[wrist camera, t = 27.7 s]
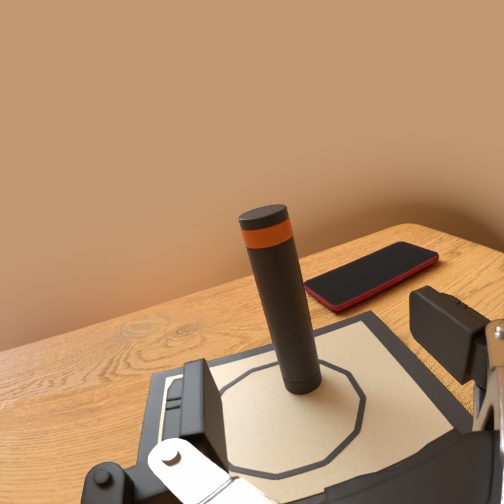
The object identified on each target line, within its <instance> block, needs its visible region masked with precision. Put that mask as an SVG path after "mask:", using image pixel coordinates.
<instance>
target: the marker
mask: <svg viewBox="0 0 504 504" xmlns="http://www.w3.org/2000/svg"><path fill="white" fill-rule="evenodd" d="M288 216H289V215H288V211H287V207H286V206H285V205H280V204H279V205H269V206H264V207H260V208H256V209H254V210H250V211H248V212H245V213H243V214H242V215H240V216H239V223H240V226H241V231H242V235H243V239H244V242H245V245H246V248H247V252H248V255H249V259H250V262H251V266H252V270H253V274H254V277H255V281H256V285H257V288H258V292H259V295H260V299H261V303H262V306H263V310H264V313H265V317H266V321H267V324H268V328H269V331H270V335H271V339H272V342H273V346H274V349H275V353H276V357H277V360H278V364H279V367H280V371H281V375H282V378H283V382H284V385H285V388H286V390H287V391H288V392H290V393H292V394H296V395H303V394H308V393H310V392H312V391H314V390H316V389H317V388H318V387H319V386H320V384H321V381H322V377H321V371H320V365H319V360H318V354H317V349H316V344H315V338H314V333H313V328H312V323H311V318H310V313H309V308H308V303H307V298H306V293H305V288H304V283H303V279H302V274H301V269H300V265H299V260H298V255H297V251H296V246H295V242H294V237H293V231H292V227H291V223H290V218H289V217H288Z"/></svg>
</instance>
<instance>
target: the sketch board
mask: <svg viewBox="0 0 504 504" xmlns="http://www.w3.org/2000/svg"><path fill="white" fill-rule="evenodd" d="M313 333H314V338H315V344H316V349H317V354H318V360H319V365H320V371H321V377H322V381H321V384H320V386H319V387H318V388H317V389H316V390H314V391H312V392H310V393H308V394H303V395H296V394H292V393H290V392H288V391H287V390H286V388H285V385H284V382H283V378H282V375H281V371H280V367H279V364H278V360H277V357H276V353H275V349H274V346H273V343H272V344H269V345H265V346H262V347H258V348H255V349H251V350H248V351H244V352H241V353H237V354H233V355H230V356H226V357H222V358H218V359H214V360H210V361H206V362H207V364H208V367H209V369H210V371H211V374H212V376H213V378H214V381H215V383H216V385H217V387H218V390H219V393H220V396H221V400H222V406H223V417H224V427H225V438H226V448H227V457H228V466H229V475H230V476H232V477H234V476H239V477H241V478H243V479H244V480H246V481H247V482H249V483H250V484H251V485H253V486H254V487H256V488H257V489H259V490H260V491H262V492H264V493H265V494H267V495H268V496H270V497H271V498H273V499H275V500H276V501H278V502H279V503H281V504H315V503H316V502H318V501H319V500H321V499H322V498H324V497H325V493H324V488H325V487H328V486H331V485H334V484H337V483H340V482H343V481H346V480H348V479H351V478H354V477H356V476H359V475H363V474H368V473H373V472H378V471H383V470H387V469H392V468H396V467H399V466H401V465H402V464H403V463H405V462H406V461H407V460H408V459H410V458H411V457H412V456H413V455H414V454H416V453H417V452H418V451H419V450H420V449H422V448H423V447H424V446H425V445H426V444H427V443H429V442H431V441H433V440H434V439H436V438H438V437H440V436H441V435H443V434H445V433H446V432H448V431H450V430H451V429H453V428H455V427H456V428H457V429H458V430H459V432H460V433H461V434H463V433H467V432H472V429H473V417H472V415H471V414H470V413H469V412H468V411H467V410H466V409H465V408H464V407H463V405H462V404H461V403H460V402H459V401H458V400H457V399H456V398H455V397H454V396H453V395H452V394H451V392H450V391H449V390H448V389H447V388H446V387H445V386H444V385H443V384H442V383H441V382H440V381H439V380H438V379H437V378H436V376H435V375H434V374H433V373H432V372H431V371H430V370H429V369H428V368H427V367H426V366H425V365H424V364H423V363H422V362H421V361H420V360H419V359H418V358H417V357H416V356H415V354H414V353H413V352H412V351H411V350H410V349H409V348H408V347H407V346H406V345H405V344H404V343H403V342H402V341H401V340H400V339H399V338H398V337H397V336H396V335H395V334H394V333H393V332H392V331H391V330H390V329H389V328H388V327H387V326H386V325H385V324H384V323H383V322H382V321H381V320H380V319H379V318H378V317H377V316H376V315H375V314H374V313H373V312H372V311H371V310H370V311H367V312H364V313H362V314H359V315H356V316H354V317H351V318H348V319H345V320H342V321H340V322H337V323H334V324H331V325H328V326H325V327H322V328H319V329H316V330H313ZM182 377H183V367H181V368H177V369H172V370H168V371H163V372H159V373H154V374H152V379H151V384H150V389H149V394H148V399H147V404H146V410H145V415H144V421H143V426H142V432H141V438H140V444H139V450H138V457H137V463H136V465H138V464H141V463H143V462H145V461H147V460H148V457H149V454H150V452H151V450H152V449H153V448H154V447H155V446H156V445H157V444H159V443H160V442H161V439H162V429H163V421H164V412H165V404H166V396H167V389H168V388H169V386H170V385H171V383H172V382H173V380H174V379H178V378H182Z"/></svg>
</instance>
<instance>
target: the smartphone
mask: <svg viewBox="0 0 504 504" xmlns="http://www.w3.org/2000/svg"><path fill="white" fill-rule="evenodd" d="M438 258H439V254H438V253H437V252H434V251H431V250H428V249H425V248H422V247H419V246H416V245H413V244H410V243H407V242H396V243H394V244H392V245H389V246H387V247H385V248H383V249H380V250H378V251H376V252H374V253H371V254H369V255H367V256H364V257H362V258H360V259H357V260H355V261H353V262H350V263H348V264H346V265H343V266H341V267H338V268H336V269H334V270H331V271H329V272H327V273H324V274H322V275H319V276H317V277H314V278H312V279H309V280H307V281H305V282H304V288H305V290H306V291H307V292H309V293H310V294H311V295H313V296H314V297H315V298H316V299H318V300H319V301H320V302H322V303H323V304H324V305H326V306H327V307H328V308H330V309H331V310H333V311H341V310H343V309H345V308H347V307H350V306H352V305H354V304H356V303H358V302H360V301H362V300H364V299H366V298H368V297H370V296H372V295H374V294H376V293H378V292H380V291H382V290H384V289H386V288H388V287H390V286H392V285H394V284H395V283H397V282H399V281H401V280H403V279H405V278H407V277H409V276H411V275H412V274H414V273H416V272H418V271H420V270H422V269H424V268H426V267H428V266H430V265H431V264H433V263H435V262H436V261H437V260H438Z"/></svg>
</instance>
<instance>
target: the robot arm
mask: <svg viewBox="0 0 504 504" xmlns="http://www.w3.org/2000/svg"><path fill="white" fill-rule="evenodd" d="M409 313H410V331H411V334H412V336H413V337H414V339H415V340H416V341H417V342H418V343H419V344H420V345H421V346H422V347H423V348H424V349H425V350H426V351H427V352H429V353H430V354H431V355H432V356H433V357H434V358H435V359H436V360H437V361H438V362H439V363H440V364H441V365H442V366H443V367H444V368H445V369H446V370H447V371H448V372H449V373H450V374H451V375H452V376H453V377H454V378H455V379H456V380H457V381H458V382H459V383H460V384H461V385H464V384H465V383H467V382H468V381H470V380H472V379H473V380H474V381H475V383H474V388H473V392H474V412H473V429H472V432H467V433H463V434H461V433H460V432H459V430H458V429H457V428H456V427H455V428H453V429H451V430H450V431H448V432H446V433H445V434H443V435H441V436H440V437H438V438H436V439H434V440H433V441H431V442H429V443H427V444H426V445H425V446H424V447H423V448H422V449H420V450H419V451H418V452H417V453H416V454H414V455H413V456H412V457H411V458H410V459H408V460H407V461H406V462H405V463H403V464H402V465H401V466H399V467H396V468H392V469H387V470H383V471H378V472H373V473H368V474H363V475H359V476H356V477H354V478H351V479H348V480H346V481H343V482H340V483H337V484H334V485H331V486H328V487H325V488H324V493H325V497H324V498H322V499H321V500H319V501H318V502H316V503H315V504H504V319H497V320H493V321H490V320H489V319H487V318H486V317H484V316H483V315H481V314H480V313H478V312H477V311H475V310H474V309H472V308H471V307H468V305H466V304H465V303H463V302H461V301H460V300H459V299H457V298H455V297H454V296H452V295H448V294H445V293H439V292H438V291H436V290H435V289H433V288H432V287H430V286H428V285H427V286H424V287H422V288H419V289H417V290H415V291H412V292H411V293H410V296H409ZM81 504H281V503H279V502H278V501H276V500H275V499H273V498H271V497H270V496H268V495H267V494H265V493H264V492H262V491H260V490H259V489H257V488H256V487H254V486H253V485H251V484H250V483H249V482H247V481H246V480H244V479H243V478H241V477H239V476H234V477H232V476H230V475H229V466H228V457H227V448H226V438H225V427H224V417H223V406H222V400H221V396H220V393H219V390H218V387H217V385H216V383H215V381H214V378H213V376H212V374H211V371H210V369H209V367H208V364H207V362H206V360H205V359H204V358H203V359H199V360H195V361H191V362H186V363H184V366H183V377H182V378H178V379H174V380H173V382H172V383H171V385H170V386H169V388H168V389H167V396H166V404H165V412H164V421H163V429H162V439H161V442H160V443H159V444H157V445H156V446H155V447H154V448H153V449H152V450H151V452H150V454H149V457H148V460H147V461H145V462H143V463H141V464H138V465H135V466H132V467H130V468H127V469H124V470H123V469H122V467H121V466H119V465H118V464H116V463H113V462H103V463H100V464H98V465H96V466H94V467H93V468H92V469H91V470H90V471H89V472H88V474H87V475H86V478H85V482H84V487H83V493H82V498H81Z"/></svg>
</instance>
